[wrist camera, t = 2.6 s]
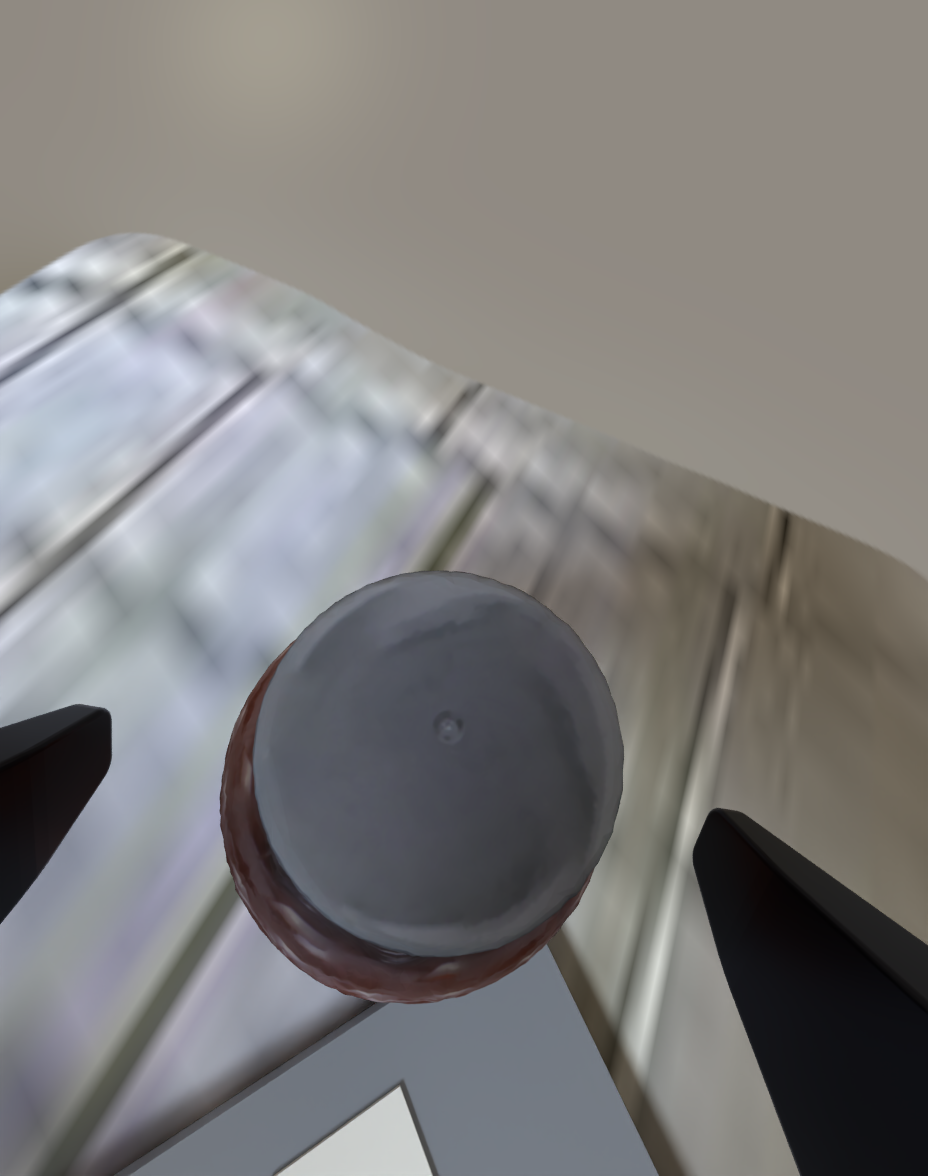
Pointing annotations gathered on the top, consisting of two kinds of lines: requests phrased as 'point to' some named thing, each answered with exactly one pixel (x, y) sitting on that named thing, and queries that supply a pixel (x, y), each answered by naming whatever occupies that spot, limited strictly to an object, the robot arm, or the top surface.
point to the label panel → (428, 1097)
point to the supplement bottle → (422, 787)
